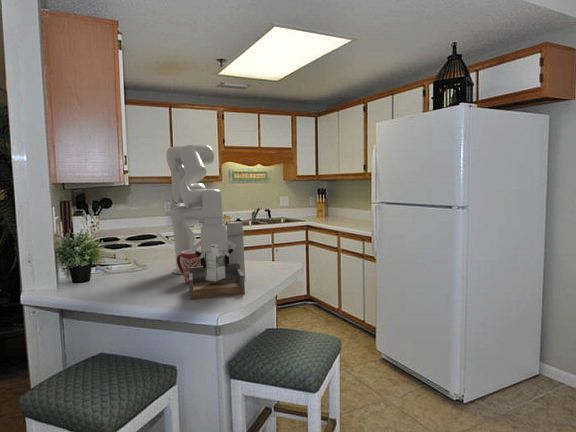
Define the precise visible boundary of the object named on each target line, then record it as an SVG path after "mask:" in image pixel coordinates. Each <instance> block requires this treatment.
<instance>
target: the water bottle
mask: <svg viewBox="0 0 576 432" xmlns="http://www.w3.org/2000/svg"><path fill="white" fill-rule="evenodd" d="M243 225H244V224H243V221H230V222H226V232H227V239H228V240H229V241H231V242H233V243H234V244H236V247H235V249H234V250H233V252H232V253H231V254H230V255H229V264H235V263H240V269H241V271H242V273H243V275H244V281H245V280H246V267H245V266H246V264H245V262H246V261H245V245H244V244H245V243H244V235H245V232H244V226H243ZM231 247H232V246H231V245H229V244H228V249H227V251H229V249H230V248H231Z"/></svg>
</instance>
